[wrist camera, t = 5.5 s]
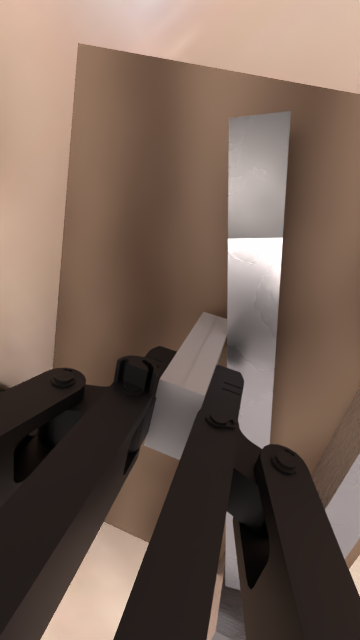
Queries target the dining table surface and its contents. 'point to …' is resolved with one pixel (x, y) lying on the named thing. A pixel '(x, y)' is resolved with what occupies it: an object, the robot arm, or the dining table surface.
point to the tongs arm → (254, 273)
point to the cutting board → (205, 242)
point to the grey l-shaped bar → (340, 506)
